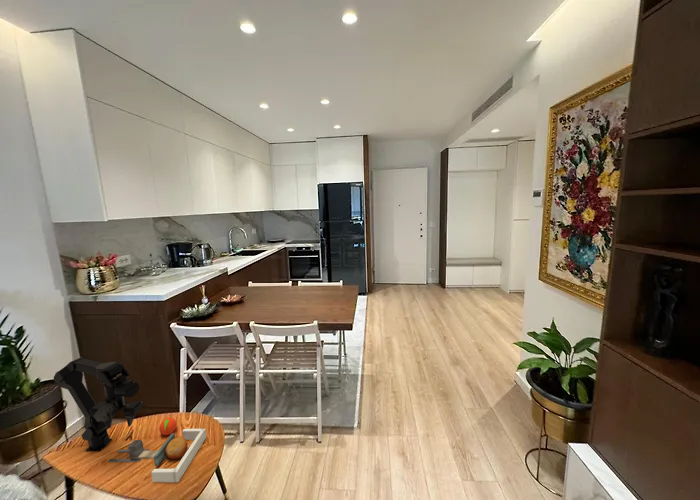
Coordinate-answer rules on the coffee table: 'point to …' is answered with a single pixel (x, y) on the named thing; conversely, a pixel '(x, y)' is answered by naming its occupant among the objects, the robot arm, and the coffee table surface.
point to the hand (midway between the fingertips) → (119, 426)
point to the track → (125, 459)
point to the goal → (177, 473)
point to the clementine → (167, 426)
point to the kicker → (138, 451)
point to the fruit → (176, 448)
